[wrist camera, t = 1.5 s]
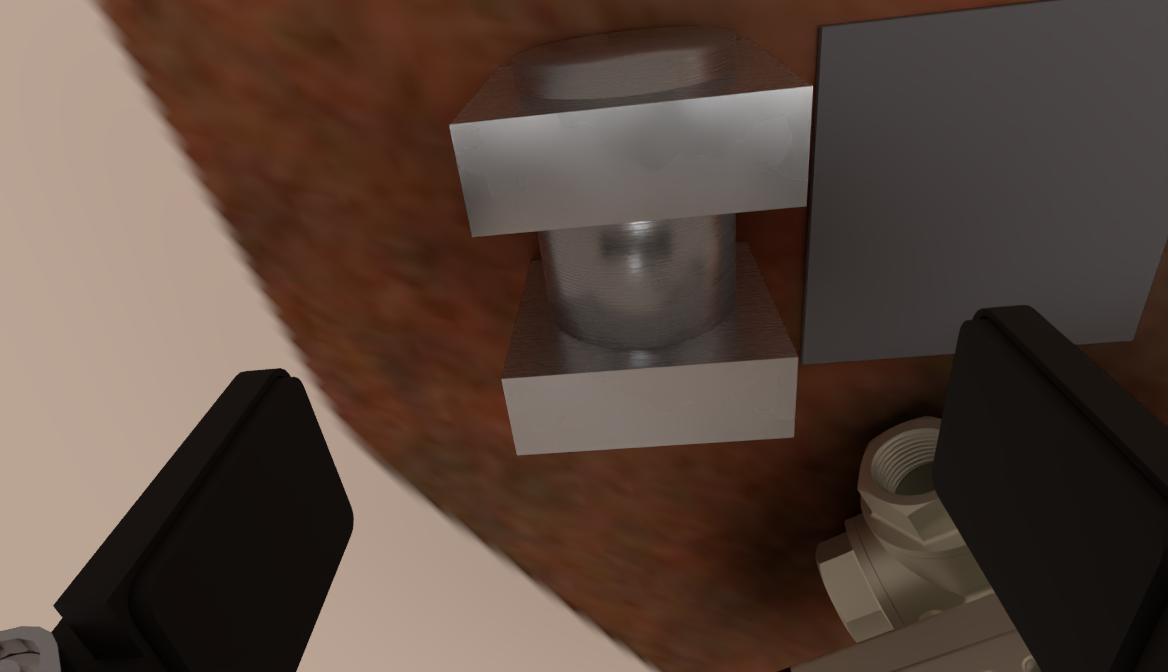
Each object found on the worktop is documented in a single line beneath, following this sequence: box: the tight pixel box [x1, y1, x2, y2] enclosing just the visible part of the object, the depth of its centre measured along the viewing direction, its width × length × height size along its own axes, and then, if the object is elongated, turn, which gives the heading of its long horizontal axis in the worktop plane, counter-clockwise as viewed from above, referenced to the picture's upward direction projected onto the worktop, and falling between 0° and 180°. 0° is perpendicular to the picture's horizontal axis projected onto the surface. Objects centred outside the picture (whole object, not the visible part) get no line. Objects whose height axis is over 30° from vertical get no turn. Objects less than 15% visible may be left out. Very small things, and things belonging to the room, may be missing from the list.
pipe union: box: [449, 27, 813, 455], centre depth 17 cm, size 9×6×6 cm
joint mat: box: [800, 0, 1168, 365], centre depth 19 cm, size 10×10×1 cm
